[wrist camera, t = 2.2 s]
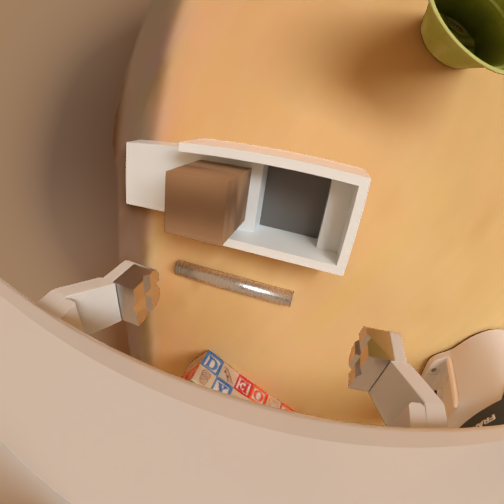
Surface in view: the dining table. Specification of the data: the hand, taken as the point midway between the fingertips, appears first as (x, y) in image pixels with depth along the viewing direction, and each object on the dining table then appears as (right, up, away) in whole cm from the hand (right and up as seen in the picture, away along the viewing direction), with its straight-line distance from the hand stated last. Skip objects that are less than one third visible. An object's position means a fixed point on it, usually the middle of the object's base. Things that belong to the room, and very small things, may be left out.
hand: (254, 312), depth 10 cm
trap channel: (-2, +9, +17) cm, 20 cm away
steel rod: (-3, -1, +21) cm, 21 cm away
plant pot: (+18, +22, +5) cm, 29 cm away
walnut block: (-3, +8, +15) cm, 18 cm away
